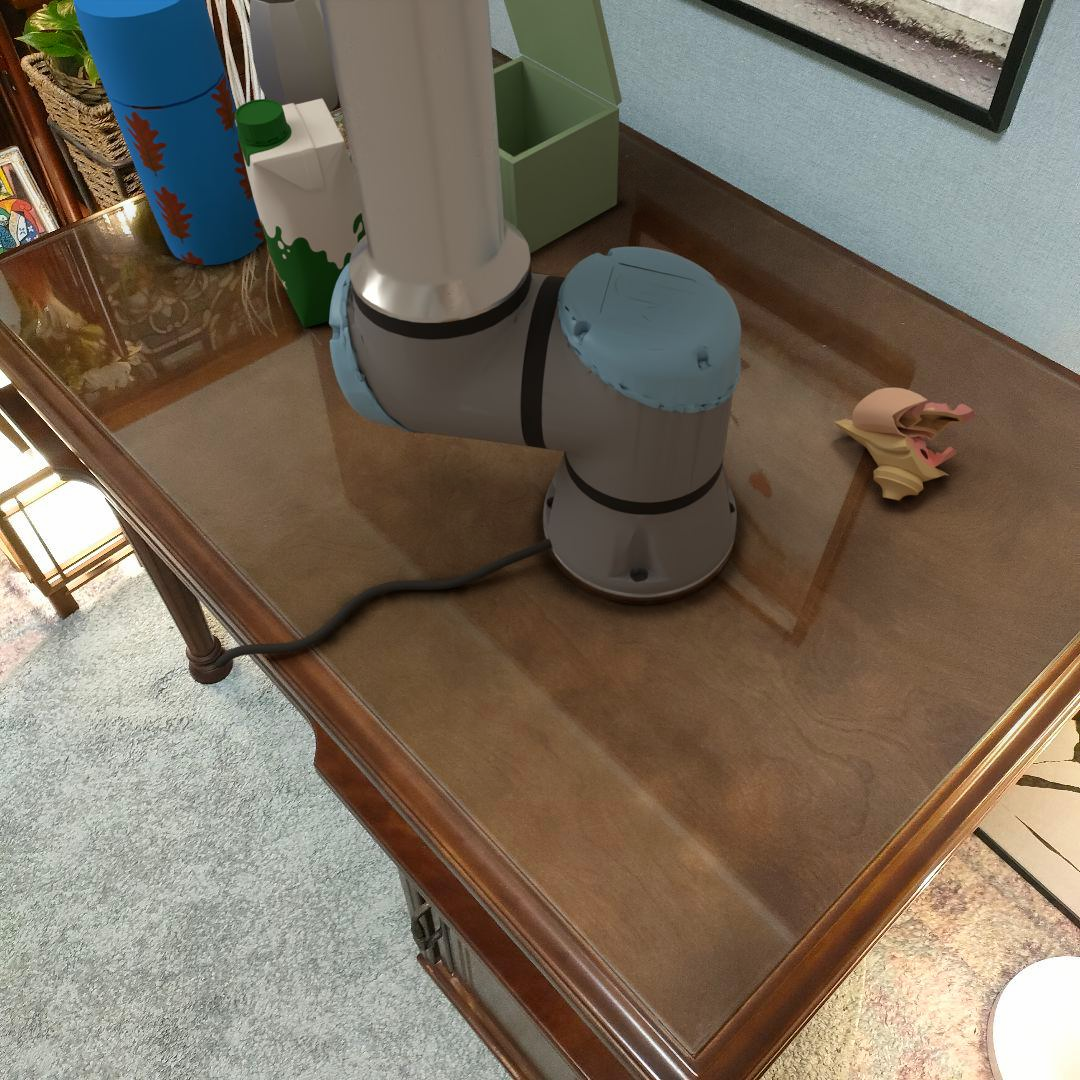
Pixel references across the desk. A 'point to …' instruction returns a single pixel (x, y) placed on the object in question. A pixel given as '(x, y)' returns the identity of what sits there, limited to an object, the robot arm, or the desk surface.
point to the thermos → (176, 122)
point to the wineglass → (292, 52)
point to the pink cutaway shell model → (902, 437)
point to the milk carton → (302, 197)
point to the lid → (567, 41)
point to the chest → (553, 151)
